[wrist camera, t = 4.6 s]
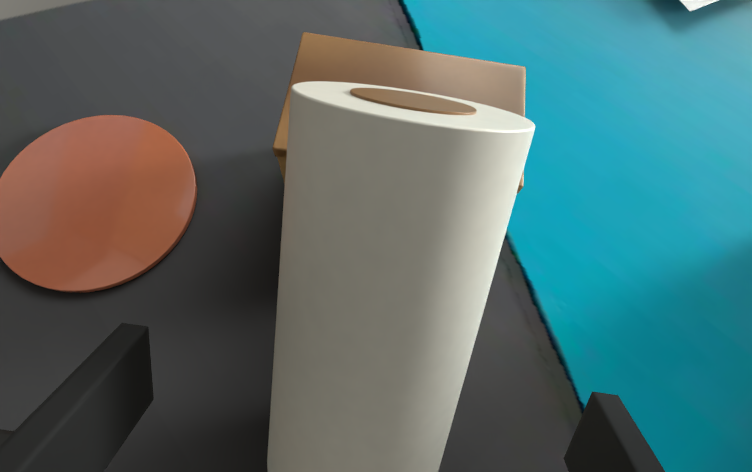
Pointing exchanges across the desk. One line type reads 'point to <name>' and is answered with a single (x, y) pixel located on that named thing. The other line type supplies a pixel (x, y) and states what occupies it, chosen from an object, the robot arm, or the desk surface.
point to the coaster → (95, 203)
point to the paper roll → (384, 270)
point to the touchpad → (696, 3)
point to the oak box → (401, 76)
